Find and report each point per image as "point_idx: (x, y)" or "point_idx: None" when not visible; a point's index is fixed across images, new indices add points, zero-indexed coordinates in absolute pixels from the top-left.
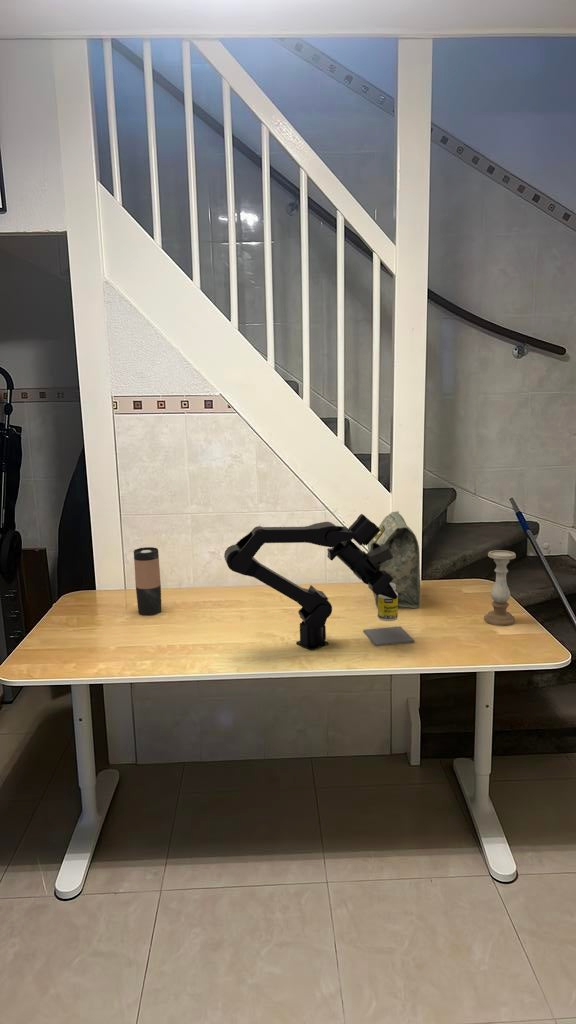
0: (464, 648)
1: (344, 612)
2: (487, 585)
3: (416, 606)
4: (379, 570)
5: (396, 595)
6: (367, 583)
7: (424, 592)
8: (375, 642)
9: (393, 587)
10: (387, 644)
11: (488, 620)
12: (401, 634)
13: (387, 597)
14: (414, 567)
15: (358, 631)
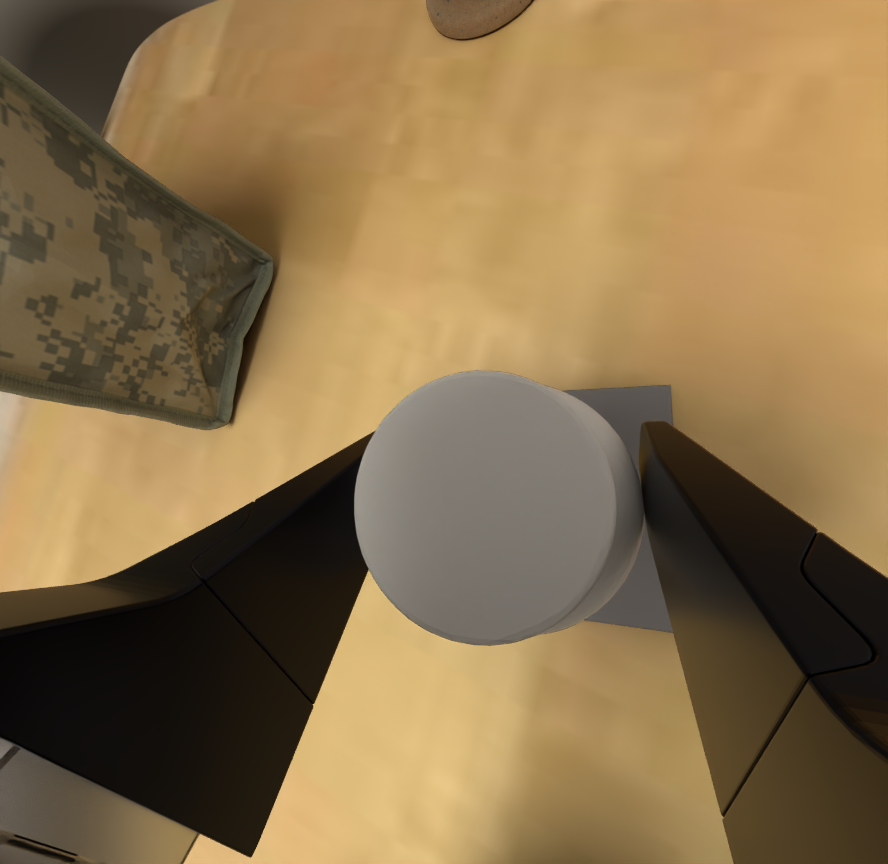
0: (829, 151)
1: None
2: (183, 23)
3: (266, 270)
4: (32, 632)
5: (682, 437)
6: (270, 791)
7: None
8: (657, 621)
9: (597, 442)
10: None
11: (503, 9)
12: None
13: (632, 560)
14: (44, 130)
15: None
